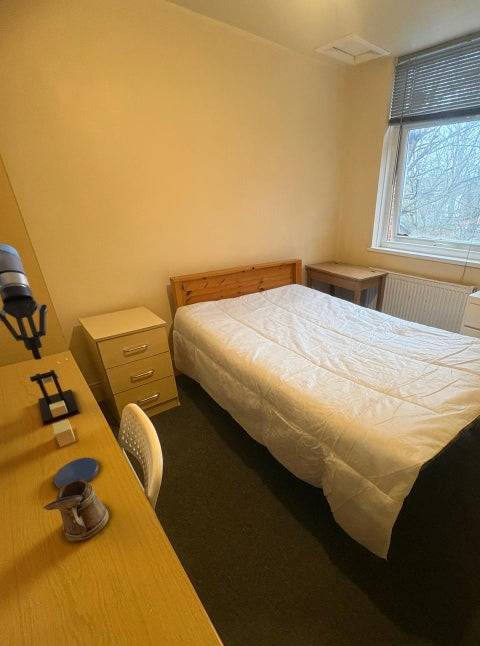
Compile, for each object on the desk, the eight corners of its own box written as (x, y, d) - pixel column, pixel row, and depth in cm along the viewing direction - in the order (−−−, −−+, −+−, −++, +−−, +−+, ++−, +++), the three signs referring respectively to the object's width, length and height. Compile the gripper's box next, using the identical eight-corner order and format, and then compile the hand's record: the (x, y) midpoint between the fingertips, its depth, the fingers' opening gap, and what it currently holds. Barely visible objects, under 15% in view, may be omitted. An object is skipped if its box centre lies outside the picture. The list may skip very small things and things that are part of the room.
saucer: (46, 489, 83) (44, 486, 82) (71, 460, 91) (69, 457, 91) (85, 490, 83) (83, 487, 82) (105, 460, 91) (104, 457, 91)
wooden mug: (59, 568, 66) (25, 511, 57) (67, 515, 76) (39, 460, 68) (108, 549, 69) (83, 492, 61) (109, 500, 80) (88, 446, 72)
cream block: (67, 412, 108) (64, 405, 106) (53, 417, 106) (50, 409, 104) (66, 407, 110) (63, 400, 109) (52, 412, 108) (49, 404, 107)
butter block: (60, 447, 96) (54, 434, 94) (57, 436, 100) (52, 424, 98) (75, 441, 98) (70, 428, 96) (72, 431, 102) (67, 418, 100)
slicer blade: (56, 376, 97) (53, 369, 97) (31, 383, 93) (28, 375, 93) (59, 379, 110) (57, 372, 110) (37, 385, 107) (35, 378, 107)
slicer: (79, 413, 110) (66, 379, 104) (44, 425, 104) (28, 390, 98) (72, 392, 121) (60, 360, 115) (39, 402, 115) (25, 369, 109)
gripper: (43, 293, 107) (65, 356, 103) (-8, 300, 99) (13, 368, 96) (38, 281, 100) (61, 347, 97) (-17, 288, 93) (5, 359, 89)
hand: (37, 357), depth 96 cm, fingers closed
